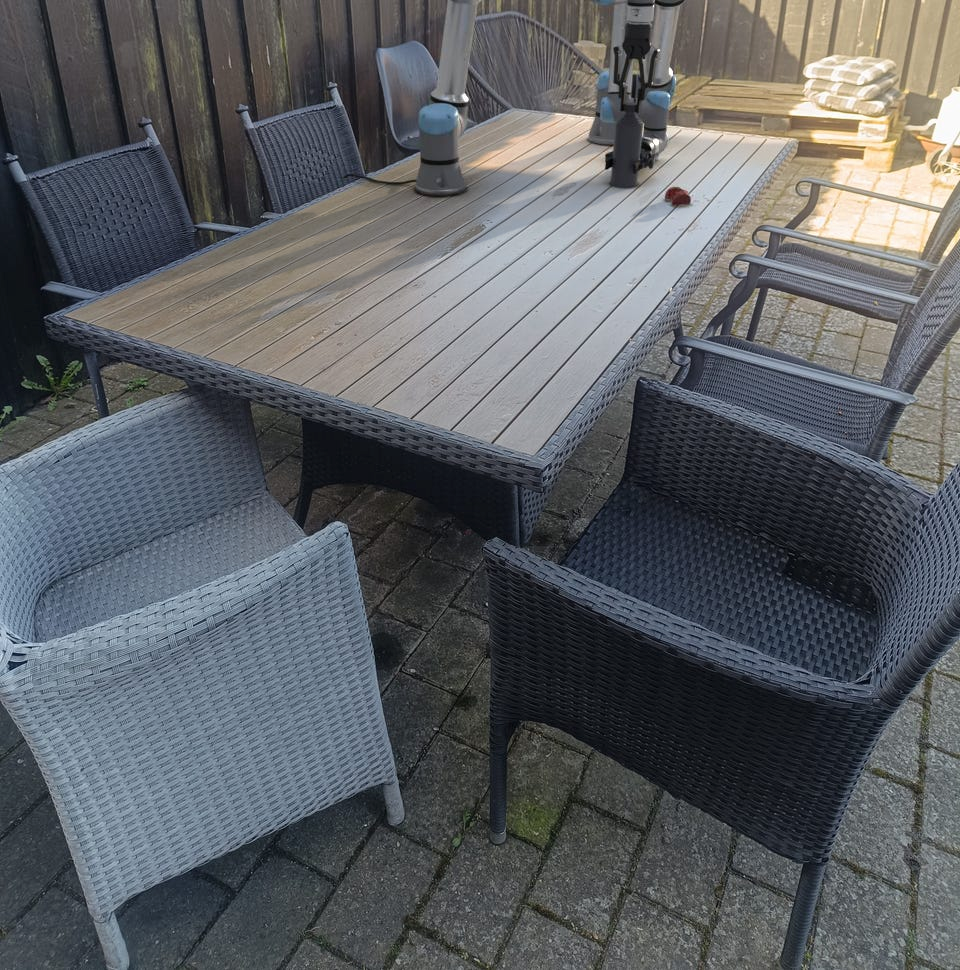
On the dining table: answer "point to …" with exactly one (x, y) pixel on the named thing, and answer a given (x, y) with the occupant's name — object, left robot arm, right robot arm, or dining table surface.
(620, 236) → the dining table surface
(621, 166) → the bottle
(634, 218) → the dining table surface
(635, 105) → the cap
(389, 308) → the dining table surface
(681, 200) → the dental model
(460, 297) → the dining table surface
